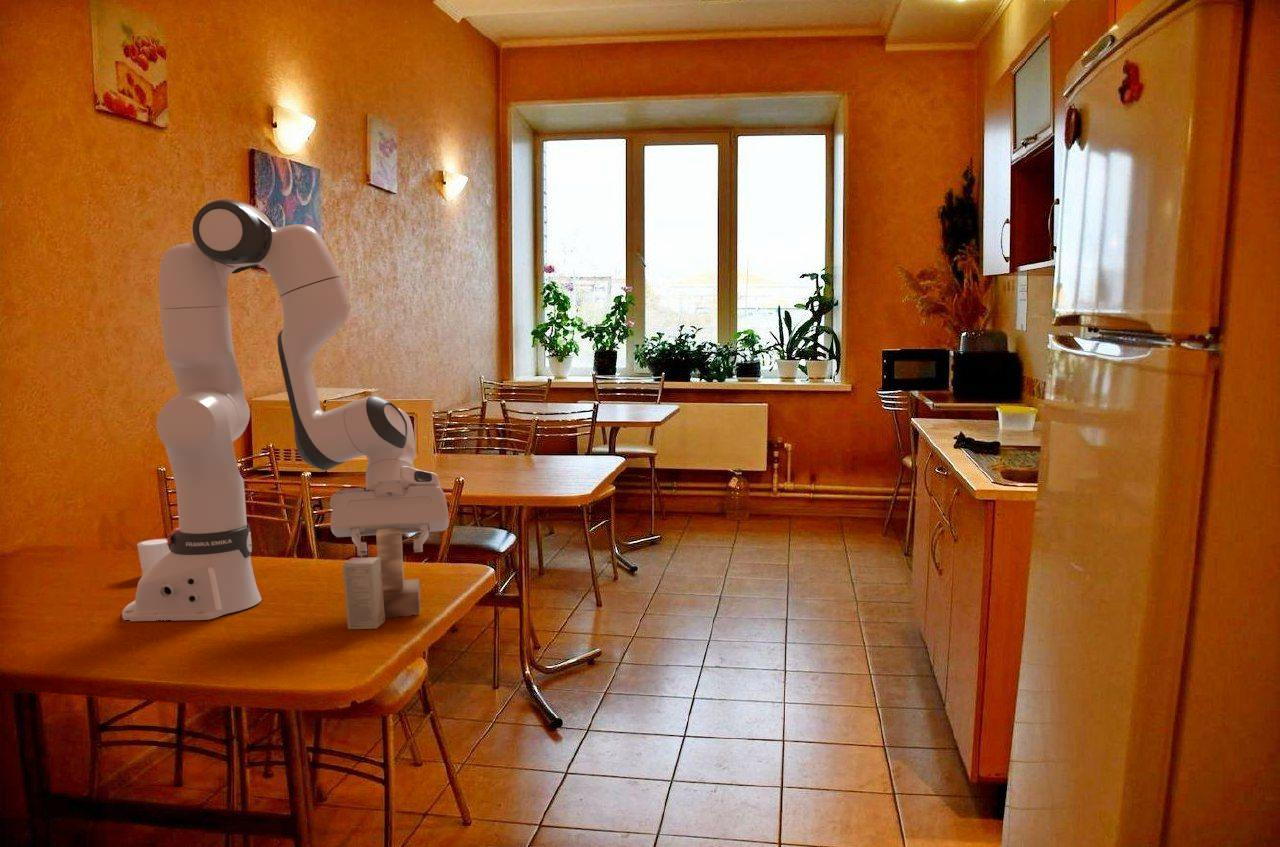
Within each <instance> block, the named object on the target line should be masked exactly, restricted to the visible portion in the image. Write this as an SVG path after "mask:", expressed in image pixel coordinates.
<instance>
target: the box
mask: <svg viewBox="0 0 1280 847" xmlns="http://www.w3.org/2000/svg"><path fill="white" fill-rule="evenodd" d="M342 570H343V582H344V594H345V607H346V608H345V609H346V619H347V621H346V622H347V629H348V630H372V629H374V630H375V629H378V628H379V627H380V626H381V625H383V624H384V623H385V621H386V618H385V612H384V599H383V586H382V573H381V561H380V557H377V556H376V557H375V556H374V557H373V556H372V557H352V558H350V559H349V560H346V562H344V563H342Z"/></svg>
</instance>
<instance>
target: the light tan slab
mask: <svg viewBox="0 0 1280 847" xmlns="http://www.w3.org/2000/svg"><path fill="white" fill-rule="evenodd" d="M383 599H384V612H385V617H388V618H398V616H402V617H412V616H411V615H415V616H420V612H421V611H420V610H421V602H420V601H422V600H421V581H420V578H415V579H413V578H412V579H404V587H403V590H389V591H383ZM419 611H420V612H419Z"/></svg>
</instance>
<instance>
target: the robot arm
mask: <svg viewBox="0 0 1280 847" xmlns="http://www.w3.org/2000/svg"><path fill="white" fill-rule="evenodd" d="M191 228H192V229H191V230H192V236H193V240H194V241H193V242H191V243H189V242H188V243H187V242H184V243H180V244H177V245H174V246H172V247H170V248H168V249H167V250H165V252H164V253H163V254H162V256H161V259H160V263H159V264H160V265H159V274H158V275H159V277H158V298H159V299H158V301H159V310H160V311H159V312H160V313H159V314H160V323H161V331H162V332H161V333H162V342H163V352H164V356H165V359H166V360H167V362H168V363H169V365H170V368H171V371H172V373H173V376H174V377H173V378H174V379H175V383H176V385H177V390H178V394H176V395H174V396H173V397H171V398H170V399H168V401H167V402H166V403H165V404H164V405H163V406H162V408H161V409H160V410H159V412H158V415H157V416H156V417H157V418H156V421H155V422H156V423H155V424H156V426H155V427H156V432H157V435H158V437H159V439H160V441H161V442H162V444H163V445H164V447H165V451H166V455H167V459H168V463H169V466H170V468H171V472H172V476H173V481H174V485H175V491H176V501H177V502H176V503H177V504H176V505H177V512H178V515H177V516H178V527H176V528H174V529H172V530H171V532H170V534H169V535H168V536H167V538H168V539H167V541H168V542H167V545H168V546H169V550H170V552H169V553H168V554H167V555H166V556H164V557H163V558H162V559H161V560H160V561H158V562H157V563H156V564H155V565H154V566H153V567H151V568H150V569H149V570H148V571H147V572H146V573H145V574H144V575H143V574H142V576H141V577H140V578H139V580H138V583H137V586H136V592H135V599H134V600H133V601H131V602H130V603H128V604H127V605H126V606H125V607H124V608H123V609H122V611H121V612H122V614H121V619H122V618H123V619H124V620H123V619H122V620H123V621H125V620H130V621H129V622H159V621H158V620H161V621H160V622H163V621H162V620H164V621H166V620H171V622H173V621H206V620H207V621H208V620H213V619H216V618H219V617H221V616H224V615H228V614H232V613H236V612H240V611H243V610H246V609H249V608H252V607H254V606H256V605H258V604H259V603H260V602H261V601H262V597H261V594H260V591H259V589H258V588H259V587H258V585H257V583H256V578H255V575H254V571H253V570H254V569H253V565H252V564H253V563H252V560H251V555H252V551H253V550H252V549H253V547H252V546H253V545H252V532H251V529H250V524H249V523H248V522H247V508H246V506H247V505H246V493H245V489H246V488H245V481H244V478H243V477H242V475H241V472H240V469H239V467H238V462H237V459H236V454H235V450H234V442H235V441H236V440H238V439H239V438H240V437H242V435H243V433H244V432H245V431H246V429H247V427H248V425H249V422H250V417H251V410H250V405H249V403H248V401H247V399H246V396H245V395H246V394H245V392H244V386H243V382H242V379H241V375H240V371H239V367H238V365H237V364H238V363H237V361H236V355H235V351H234V350H235V349H234V342H233V333H232V332H233V331H232V323H231V322H232V321H231V312H230V302H229V293H228V292H229V291H228V282H229V278H230V277H231V274H238V273H241V272H243V271H247V270H249V269H253V268H256V267H262V268H264V270H266V272H267V273H268V275H269V276H270V277H271V280H272V282H273V284H274V286H275V289H276V291H277V292H276V293H277V295H278V297H279V300H280V303H281V306H282V311H283V312H282V313H283V324H282V328H281V330H280V332H278V335H277V339H276V341H277V350H278V351H277V352H278V356H279V361H280V362H279V363H280V366H281V373H282V375H283V380H284V384H285V388H286V394H287V398H288V401H289V406H290V410H291V414H292V415H291V416H292V420H293V428H294V431H293V432H294V442H295V447H296V450H297V453H298V454H299V457H300V458H301V459H302V460H303V462H305V463H306V464H308V465H309V466H311V467H313V468H316V469H319V470H322V471H328V470H330V469H333V468H335V467H337V466H340V465H341V464H344V463H345V462H347V461H350V460H353V459H356V458H359V457H361V456H366V459H367V461H368V464H367V467H366V470H365V486H364V487H355V488H339V490H338V491H335V492H333V493H332V494H331V496H330V501H329V505H330V508H331V509H332V510H331V513H330V514H331V515H330V520H329V522H330V531H331V532H332V534H333V535H334V536H335V537H336V538H345V537H346V538H348V537H351V541H352V542H353V544H354V545H355V547H356V553H357V556H358V557H361V556H362V557H363V556H367V555H368V553H367V551H368V547H367V541H361V537H364V536H376V533H377V530H378V529H387V528H401V529H402V534H414V533H415V534H417V533H420V535H419V537H418V538H415V539H413V553H423V552H424V549H423V548H424V546H423V545H424V544H425V542H426V541H427V540H428V538H429V536H430V534H429V533H430V532H431V533H432V532H443V531H446V530H447V529H448V527H449V525H450V524H449V522H450V521H449V520H450V518H449V510H448V504H447V499H446V496H445V493H444V491H443V489H442V488H441V481H440V478H439V475H438V474H437V473H435V472H432V471H427V470H422V469H418V468H415V465H414V460H415V458H416V442H415V439H416V438H415V433H414V428H413V423H412V421H411V420H412V419H411V418H410V416H409V415H408V413H407V412H406V411H404V410H403V409H402V408H398V407H397V406H396V405H395V404H393V403H391V402H390V401H389V400H387V399H386V398H383V397H381V396H378V395H376V394H373V395H369V396H365V397H362V398H358V399H356V400H353V401H351V402H347V404H343V405H340V406H338V407H335V408H332V409H329V410H326V411H323V410H322V408H321V403H320V400H319V395H318V390H317V386H316V382H315V377H314V374H313V373H314V372H313V362H314V359H315V356H316V355H317V353H318V351H319V350H320V349H322V347H323V346H325V344H326V343H327V342H328V341H330V339H332V337H334V336H335V335H336V334H337V333H338V332H339V330H340V329H342V327H343V325H344V324H345V322H346V320H347V318H348V316H349V312H350V306H351V304H350V299H349V295H348V292H347V288H346V286H345V282H344V280H343V278H342V275H341V273H340V270H339V268H338V266H337V263H336V261H335V260H334V257H333V256H332V254H331V252H330V250H329V248H328V246H327V245H326V243H325V241H324V240H323V238H322V237H321V235H320V234H319V232H318V231H317V230H316V229H315V228H313V227H311V226H310V225H307V224H302V223H301V224H299V223H296V224H295V223H294V224H293V223H292V224H288V225H285V226H280V227H277V226H276V224H275V223H274V221H273V219H272V218H271V217H270V216H269V215H268V214H267V213H266V212H264V211H263V210H261V209H259V208H257V207H256V206H254V205H252V204H250V203H247V202H243V201H237V200H234V199H233V200H232V199H225V198H224V199H217V200H213V201H211V202H209V203H207V204H205V205H204V206H202V207H201V208H200V209H199V210H198V212H196V215H195V216H194V219H193V221H192V227H191ZM156 620H157V621H156ZM166 622H167V621H166Z"/></svg>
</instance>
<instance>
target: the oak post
mask: <svg viewBox="0 0 1280 847" xmlns="http://www.w3.org/2000/svg"><path fill="white" fill-rule="evenodd" d="M402 534H403V533H402V529H401V528H387V529H378V530H377V533H376V535H375V536H376V538H375V539H376V553H377V554H376V555H377V556H376V557H380V561H381V573H382V586H383V591H389V590H403V587H404V580H405V576H404V575H405V574H404V573H405V572H404V558H403V557H404V555H403V554H404V552H403V551H404V550H403V535H402Z"/></svg>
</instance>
